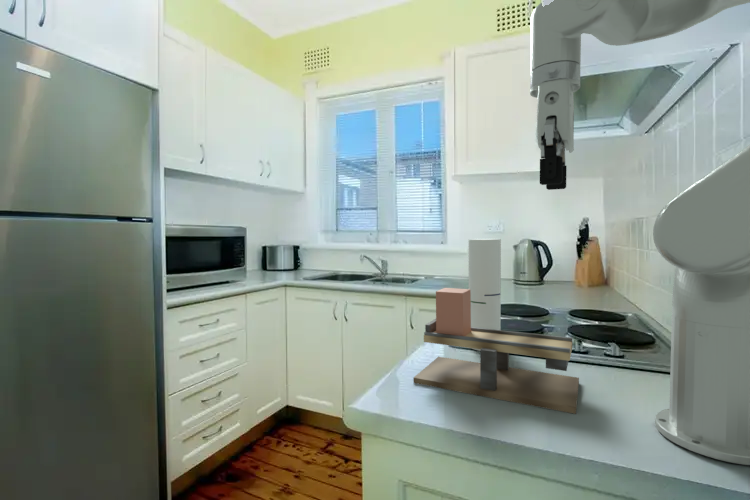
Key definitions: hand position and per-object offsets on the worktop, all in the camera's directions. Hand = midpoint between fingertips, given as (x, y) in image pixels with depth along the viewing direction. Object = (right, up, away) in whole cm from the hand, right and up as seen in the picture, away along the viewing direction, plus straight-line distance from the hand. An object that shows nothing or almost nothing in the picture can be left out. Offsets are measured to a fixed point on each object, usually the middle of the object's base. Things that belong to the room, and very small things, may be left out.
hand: (553, 186), depth 66 cm
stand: (-8, -34, +4) cm, 36 cm away
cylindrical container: (-4, -33, +26) cm, 43 cm away
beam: (-8, -29, +4) cm, 31 cm away
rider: (-15, -26, +8) cm, 31 cm away
